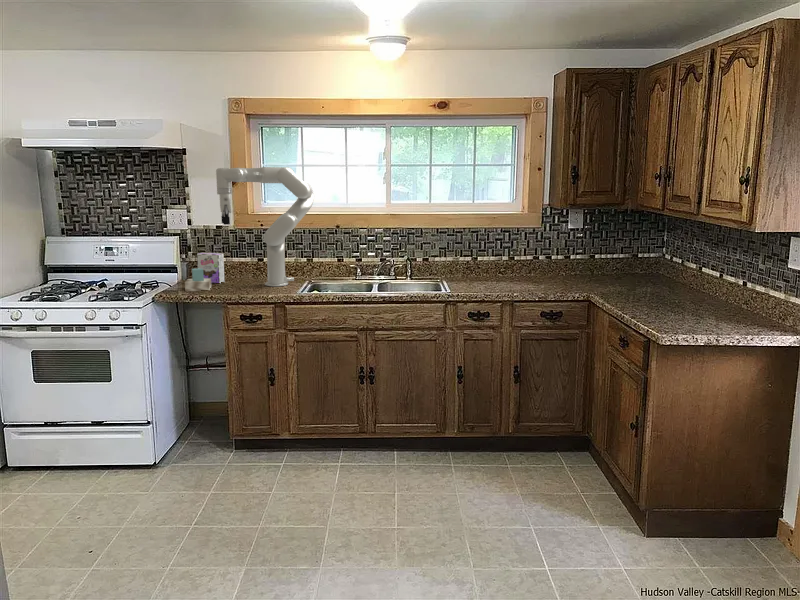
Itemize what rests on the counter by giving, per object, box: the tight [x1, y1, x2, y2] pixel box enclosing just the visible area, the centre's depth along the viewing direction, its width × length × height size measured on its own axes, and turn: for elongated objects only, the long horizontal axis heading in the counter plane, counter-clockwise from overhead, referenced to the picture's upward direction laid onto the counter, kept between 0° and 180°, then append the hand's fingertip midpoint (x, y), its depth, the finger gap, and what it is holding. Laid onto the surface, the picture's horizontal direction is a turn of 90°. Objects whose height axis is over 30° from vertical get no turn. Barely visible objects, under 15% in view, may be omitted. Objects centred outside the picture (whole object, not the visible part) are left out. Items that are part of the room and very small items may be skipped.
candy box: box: [196, 252, 225, 284], centre depth 364 cm, size 14×6×16 cm, turn 73°
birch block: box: [184, 278, 212, 292], centre depth 344 cm, size 12×12×5 cm
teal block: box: [191, 267, 204, 281], centre depth 343 cm, size 5×5×6 cm
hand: (225, 223), depth 351 cm, fingers open, 9 cm apart
